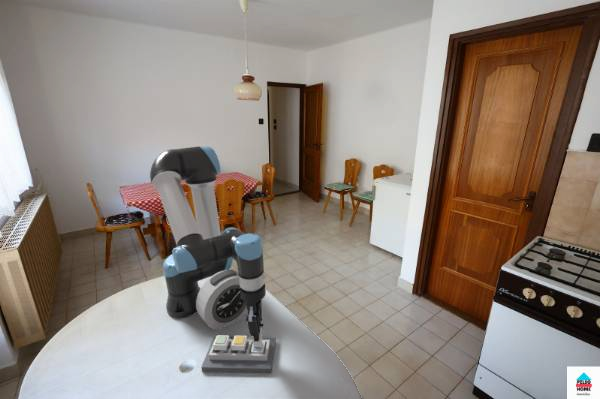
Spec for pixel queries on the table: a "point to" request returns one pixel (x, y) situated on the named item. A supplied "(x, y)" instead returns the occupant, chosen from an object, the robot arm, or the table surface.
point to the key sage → (221, 342)
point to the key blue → (258, 349)
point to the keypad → (240, 358)
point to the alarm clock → (221, 300)
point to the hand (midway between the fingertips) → (258, 345)
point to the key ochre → (239, 342)
